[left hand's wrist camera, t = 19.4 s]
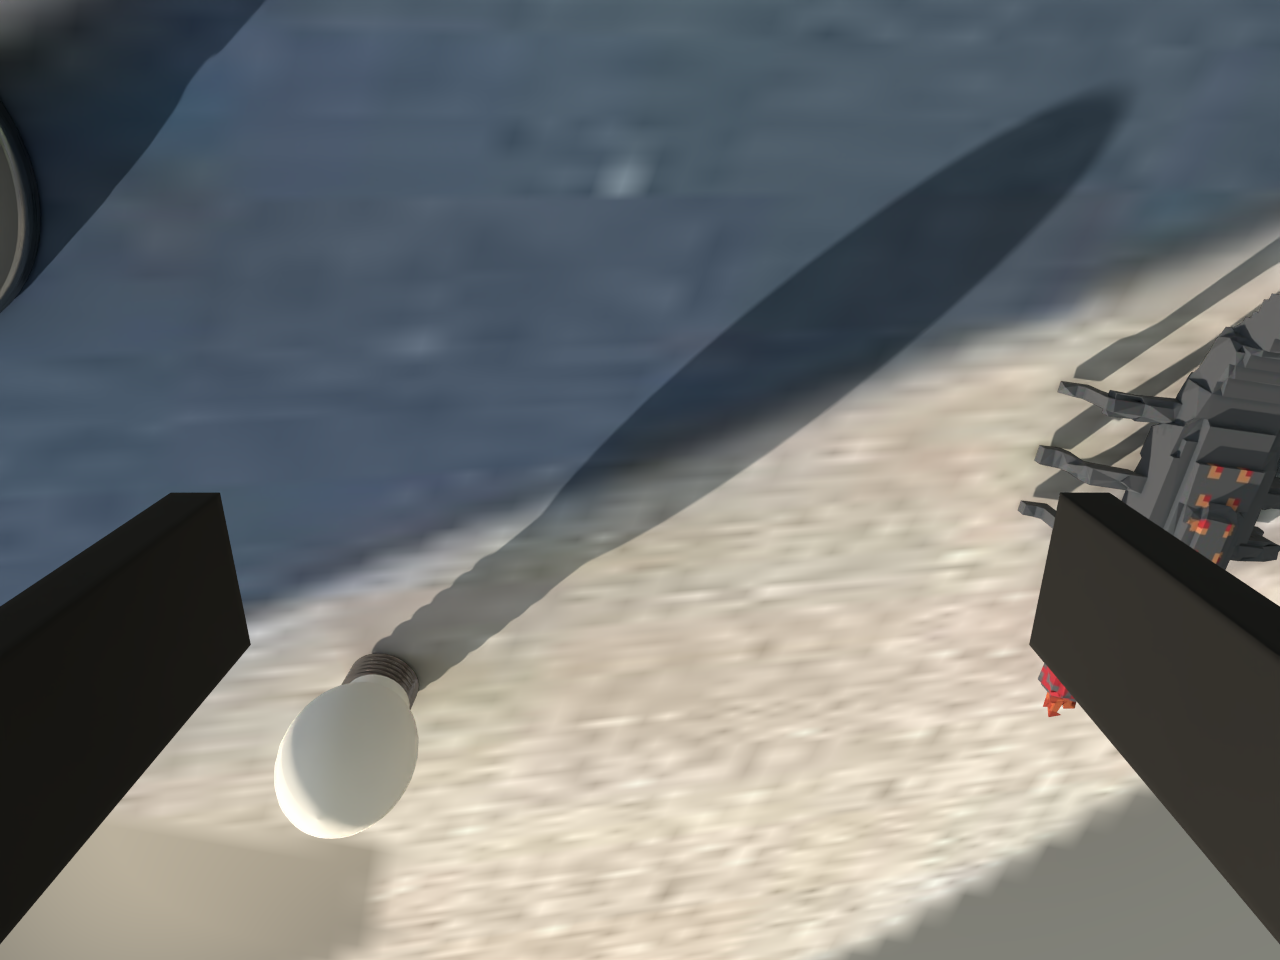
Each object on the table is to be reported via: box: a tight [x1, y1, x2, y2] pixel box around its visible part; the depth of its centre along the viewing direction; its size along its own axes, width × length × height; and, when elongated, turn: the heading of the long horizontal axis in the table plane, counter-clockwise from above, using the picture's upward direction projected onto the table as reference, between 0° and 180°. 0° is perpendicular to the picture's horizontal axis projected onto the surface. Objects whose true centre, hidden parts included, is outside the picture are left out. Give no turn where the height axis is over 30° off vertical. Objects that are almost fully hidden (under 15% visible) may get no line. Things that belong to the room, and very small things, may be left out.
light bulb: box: [274, 654, 419, 838], centre depth 42 cm, size 7×7×11 cm
